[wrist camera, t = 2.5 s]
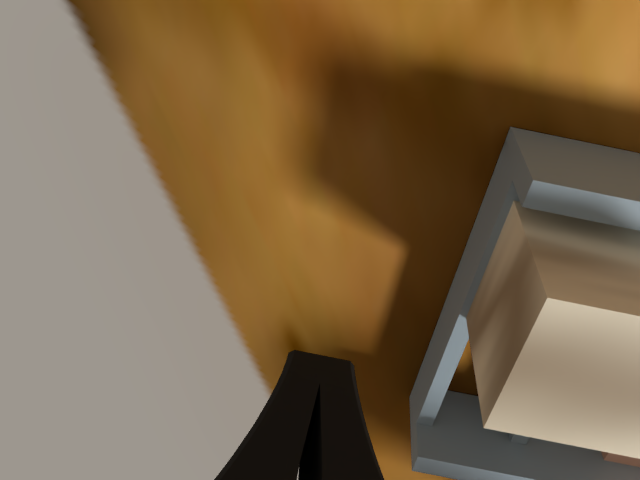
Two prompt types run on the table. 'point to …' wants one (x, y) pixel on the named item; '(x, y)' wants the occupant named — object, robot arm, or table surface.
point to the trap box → (451, 330)
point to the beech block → (560, 332)
